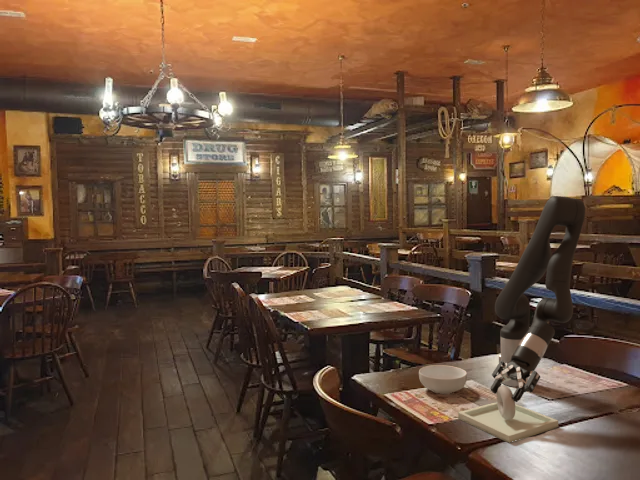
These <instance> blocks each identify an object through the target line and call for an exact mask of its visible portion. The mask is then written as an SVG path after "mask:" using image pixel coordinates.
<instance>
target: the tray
mask: <svg viewBox="0 0 640 480" xmlns="http://www.w3.org/2000/svg"><path fill="white" fill-rule="evenodd" d="M457 419H458V420H460V421H463V423H467V424H468V425H470V426H472V427H474V428H477V429H479V430H481V431H482V432H485V433H487V434H489V435H491V436H494V437H496V438H497V439H500V440H501V441H504V442H506V443H508V442H509V443H508V444H510V442H511V443H513V442H512V441H514V442H516V441H515V440H517V441H520V440H519V439H521V440H522V439H523V438H524V439H527V438H528V437H529V438H530V437H532V436H536V435H538V434H541V433H545V432H547V431H551V430H555V429H558V428H559V419H558V420H557V419H556V418H552V417H550V416H548V415H544V414H543V413H540V412H537V411H535V410H532V409H529V408H527V407H524V406H521V405H520V404H516V403H515V416H514V418H513V419H511V420H505V419H504V418H503V417H502V416H501V414H500V412H499V409H498V405H497V401H496V402H492V403H488V404H483V405H481V406H475V407H473V408H469V409H465V410H462V411H461V410H460V411H457Z"/></svg>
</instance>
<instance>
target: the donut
mask: <svg viewBox="0 0 640 480" xmlns="http://www.w3.org/2000/svg"><path fill="white" fill-rule="evenodd" d="M513 394H514V393H513V392H512V390H511V388H510V386H508V385H505V384H502V385H501V386H500V387H499V388H498V390H497V393H496V402H497V405H498V409H499V412H500V414H501V416H502V417H503V418H504V419H505V420H511V419H513V418H514V416H515V404H516V402H515V401H514V400H513V399H512V396H513Z"/></svg>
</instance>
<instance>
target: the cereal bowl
mask: <svg viewBox="0 0 640 480" xmlns="http://www.w3.org/2000/svg"><path fill="white" fill-rule="evenodd" d="M467 375H468V373H467V371H466V370H465V369H463V368H460V367H458V366H457V367H456V366H452V365H445V364H444V365H443V364H432V365H427V366H423V367H421V368H420V369H419V370H418V378H419V381H420V383H421V384H422V386H423V387H425V388H426V389H428V390H430V391H432V392H433V393H435V394H438V393H440V395H450V394H449V393H451V394H453V393H454V392H459V391H460V390H461V389H463V388H464V387H465V385H466V383H467V378H468V376H467ZM452 392H453V393H452Z"/></svg>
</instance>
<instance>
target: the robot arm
mask: <svg viewBox="0 0 640 480" xmlns="http://www.w3.org/2000/svg"><path fill="white" fill-rule="evenodd" d="M585 216H586V205H585V203H584V201H583V200H581V199H579V198H576V197H575V198H574V197H568V196H561V195H560V196H559V195H554V196H551V197H549V199H547V201H546V202H545V205H544V206H543V209H542V211H541V213H540V216H539V218H538V221H537V224H536V225H535V229H534V230H533V233H532V236H531V238H530V240H529V241H528V244H527V245H526V247H525V249H524V250H523V253H522V255H521V257H520V259H519V260H518V263H517V265H516V266H515V268H514V271H512V274H511V276H510V277H509V279H508V281H507V282H506V284H505V286H504V287H503V289H502V290H500V293H498V296H497V298H496V300H495V303H494V313H495V315H496V316H497V318H500V319H501V320H508V321H509V322H507V324H506V325H505V326H503V327H502V328H500V332H499V333H500V355H498V364H497V366H496V367H495V368H494V370H493V371H492V373H491V376H492V377H493V378H494V381H493V382H492V384H491V386H490V391H491V393H493V394H495V395H497V390H498V388H499V387H500V386H503V385H504V386H507V387H513V388H514V387H516V389H515V391H514V393H512V394H513V396H512V399H513V400H514V401H515V403H518V402H519V401H520V400H521V398H522V397H523V395H524V394H525V393H526V392H529V393H533V392H534V389H535V388H536V386H537V384H538V382H539V381H540V379H541V375H540V374H539V372H537V370H536V369H537V367H538V365H539V364H540V362H541V360H542V358H543V357H544V355H545V353H546V351H547V349H548V347H549V344H550V343H551V342H552V339H553V338H554V336H555V334H556V333H555V332H556V331H555V328H554V327H553V325H551V324H549V321H552V322H556V323H561V324H564V323H567V322H569V321H570V320H571V319H572V317H573V313H574V305H573V300H572V294H571V285H570V284H571V280H572V279H571V278H572V277H571V276H572V269H573V263H574V258H575V253H576V249H577V248H578V247H577V246H578V243H579V240H580V236H581V233H582V229H583V225H584V221H585ZM556 226H559V227H565V230H564V231H565V232H564V236H563V239H562V241H561V243H560V245H559V246H558V247H557V248H556V250H555V251H554V253H553V252H552V247H551V242H550V237H551V236H552V235H551V234H552V232H553V231H554V228H555V227H556ZM545 274H546V275H545ZM544 275H545V288H546V290H548V291H551V292H552V293H554V295H555V298H552V297H544V298H542V299H540V300H539V301H538V302H537V305H536V307H535V311H534V316H533V319H532V322H531V324H530V321H531V319H530V318H531V317H530V316H531V315H530V314H531V307H530V301H529V299H528V297H527V295H525V294H524V293H525V292H526V291H527V290H529V289H530V288H531V287H533V286H534V285H535V284H537V283H538V282H539V281H540V280H541V279H542V278H543V277H544Z"/></svg>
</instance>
